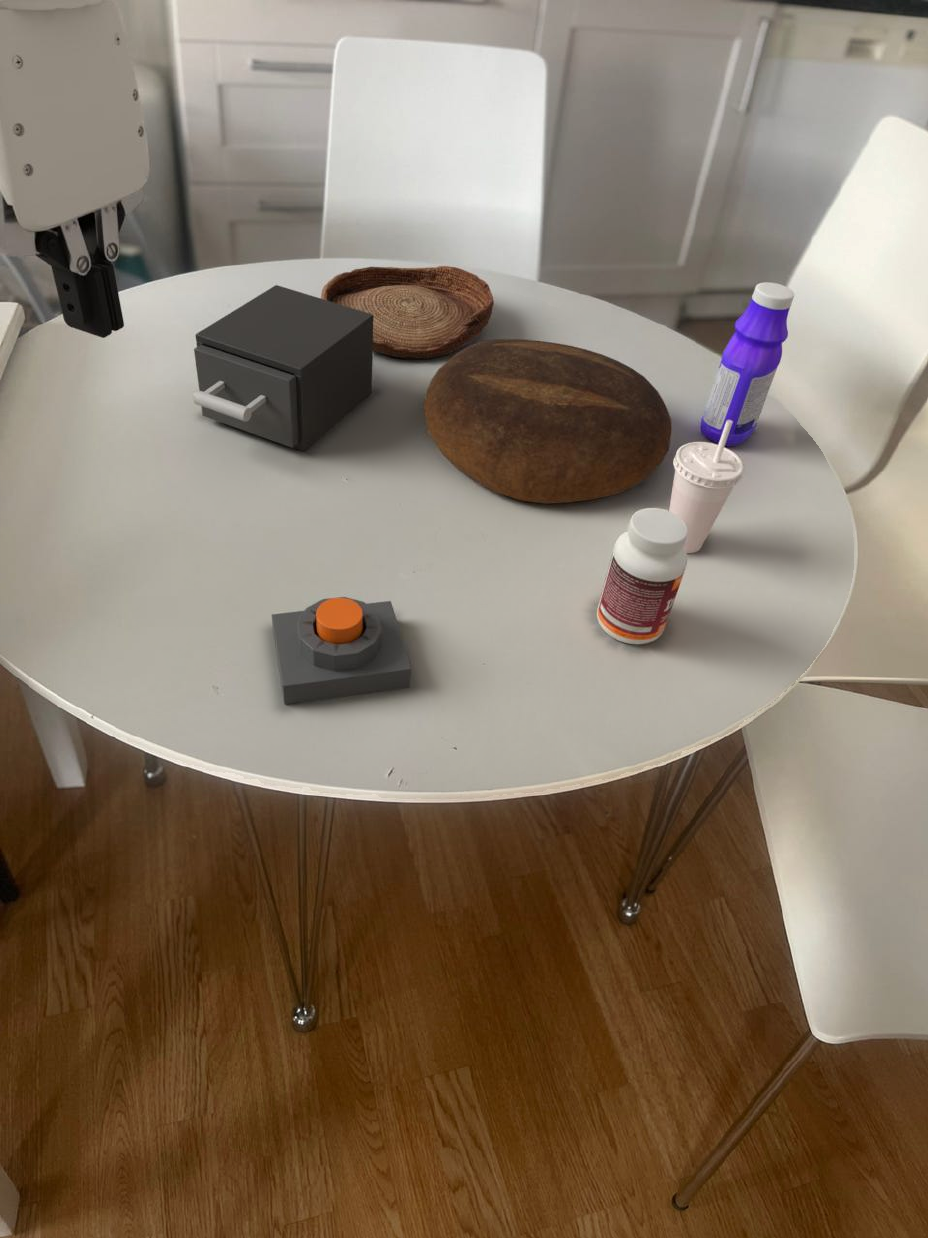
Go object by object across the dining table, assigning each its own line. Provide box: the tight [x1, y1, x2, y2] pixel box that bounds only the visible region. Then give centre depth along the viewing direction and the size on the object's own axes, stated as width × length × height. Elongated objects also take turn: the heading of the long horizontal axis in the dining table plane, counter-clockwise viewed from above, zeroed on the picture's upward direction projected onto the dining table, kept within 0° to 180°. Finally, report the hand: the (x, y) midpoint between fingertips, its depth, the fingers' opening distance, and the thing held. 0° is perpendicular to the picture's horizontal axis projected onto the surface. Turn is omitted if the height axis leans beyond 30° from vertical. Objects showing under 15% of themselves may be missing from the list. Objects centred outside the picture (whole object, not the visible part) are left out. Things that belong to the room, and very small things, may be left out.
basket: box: [320, 265, 495, 360], centre depth 115 cm, size 22×20×5 cm
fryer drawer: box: [192, 345, 299, 449], centre depth 94 cm, size 18×11×8 cm, turn 155°
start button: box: [316, 597, 363, 645], centre depth 70 cm, size 4×4×2 cm
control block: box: [271, 596, 412, 705], centre depth 71 cm, size 10×8×4 cm
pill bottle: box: [596, 507, 688, 645], centre depth 75 cm, size 6×6×11 cm
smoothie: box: [668, 420, 745, 554], centre depth 84 cm, size 6×6×14 cm
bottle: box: [700, 281, 795, 447], centre depth 98 cm, size 7×6×17 cm
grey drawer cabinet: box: [195, 284, 374, 452], centre depth 97 cm, size 15×13×10 cm
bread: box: [423, 338, 673, 504], centre depth 97 cm, size 28×27×9 cm
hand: (95, 326), depth 54 cm, fingers closed
